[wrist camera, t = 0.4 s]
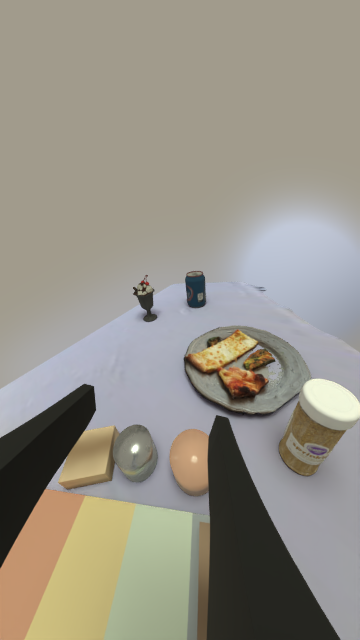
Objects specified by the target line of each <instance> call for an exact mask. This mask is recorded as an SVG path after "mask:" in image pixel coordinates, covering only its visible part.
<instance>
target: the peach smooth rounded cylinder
mask: <svg viewBox="0 0 360 640" xmlns="http://www.w3.org/2000/svg"><path fill="white" fill-rule="evenodd" d="M208 438H209V436H208V435H207V434H205V433H204V432H202V431H200V430H197V429H189V430H185V431H183V432H182V433H180V434H179V435H178V436H177V437H176V438H175V440H174V441H173V444H172V446H171V450H170V464H171V468H172V470H173V473H174V476H175V479H176V482H177V484H178V485H179V487H180V488H181V489H182V490H183V491H184V492H185V493H186V494H188V495H191V496H201V495H204V494H206V493H207V492H208V491H209V487H208V462H207V458H208Z"/></svg>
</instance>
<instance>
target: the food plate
mask: <svg viewBox="0 0 360 640" xmlns="http://www.w3.org/2000/svg"><path fill="white" fill-rule="evenodd" d="M257 344H258V345H260V346H262V347H263V348H265V349H260V350H257V351H256V352H255V353H252V354H251V355H250V356H249V357H247V356H248V354H249V353H250V352H251V351H253V349H254V348H255V347H256V345H257ZM268 351H269V352H271V353H272V354H273V355H274V356H275V357H276V359H277V360H279V363H280V364H281V368H279V369H282V372H279V377H277V378H280V377H281V376H282V378H280V379H279V381H278V380H276V379H274V381H272V379H270V378H268V377H269V375H274V374H276V373H273V371H272V372H270V373H269V371H268V370H269V369H268V367H266V365H267V364H270V363H272V362H276V361H275V359H274V358H273V357H272V354H271V353H269V352H268ZM184 362H185V371H186V373H187V376H188V378H189V379H190V380H191V383H192V384H193V386H194V387H195V389H196V390H197V391H198V392H199V393H200V394H201V395H202V396H203V397H205V398H206V399H208V400H210V401H212V402H214V403H216V404H219V405H221V406H223V407H224V408H226V409H227V410H229V411H234V412H236V413H237V412H238V413H243V412H246V413H247V414H255V413H256V412H257V413H260V414H263V415H264V414H267V413H271V412H273V411H276V409H277V408H279V407H281V406H282V405H283V404H284V403H286V402H287V401H289V400H290V399H291V398H293V397H294V396H295V395H296V394H298V393H299V392H300V391H301V389H302V387H303V385H304V384H305V383H306V382H307V381H309V380H311V375H310V371H309V369H308V367H307V365H306V363H305V361H304V360H303V358H302V357H301V355H300V354H299V352H298V351H297V350H295V348H294V347H292V346H291V345H290V344H289V343H288V342H285V341H284V340H283V339H281V338H279V337H277V336H275V335H273V334H271V333H269V332H267V331H264V330H260V329H256V328H253V327H247V326H229V327H221V328H220V327H219V328H216V330H215V329H214V330H211V331H209V332H207V333H205V334H203V336H202V335H201V336H200V337H198V338H197V339H195V340H193V341H192V342H191V344H190V345H189V347H188V349H187V352H186V355H185V357H184ZM277 365H279V364H277ZM258 368H259V369H258ZM272 369H273V368H272ZM266 378H267V379H266ZM268 380H271V381H270V382H269V381H268ZM276 381H277V382H276ZM271 382H274V383H271ZM275 382H276V383H275ZM278 382H279V384H278ZM271 384H272V385H271ZM276 384H278V385H276ZM268 385H269V386H268ZM268 390H269V391H268ZM267 391H268V392H267ZM243 415H244V413H243Z"/></svg>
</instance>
